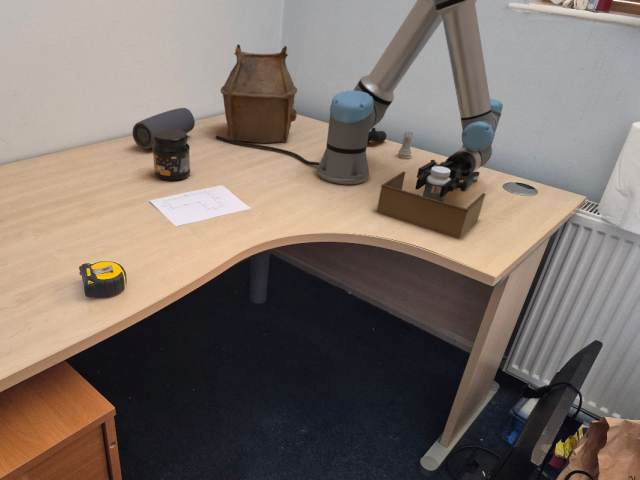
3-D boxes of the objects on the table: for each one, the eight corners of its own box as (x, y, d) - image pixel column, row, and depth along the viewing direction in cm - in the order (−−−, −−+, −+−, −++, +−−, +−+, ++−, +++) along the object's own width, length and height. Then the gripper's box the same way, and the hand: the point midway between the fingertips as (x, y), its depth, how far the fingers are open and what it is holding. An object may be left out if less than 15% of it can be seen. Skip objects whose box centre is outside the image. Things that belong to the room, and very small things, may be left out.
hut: (296, 146, 178) (304, 52, 161) (218, 143, 178) (217, 48, 161) (293, 127, 197) (300, 40, 180) (222, 124, 196) (222, 37, 180)
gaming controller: (339, 142, 192) (334, 134, 182) (342, 126, 191) (338, 118, 182) (384, 149, 187) (381, 141, 177) (388, 133, 186) (386, 125, 177)
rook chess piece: (396, 157, 172) (400, 133, 168) (398, 153, 176) (403, 130, 171) (409, 159, 171) (414, 135, 167) (411, 155, 174) (416, 132, 170)
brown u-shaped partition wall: (398, 196, 145) (403, 171, 141) (477, 220, 134) (485, 193, 130) (376, 211, 136) (381, 184, 132) (459, 238, 125) (467, 210, 121)
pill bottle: (443, 211, 133) (454, 174, 127) (421, 208, 134) (430, 172, 128) (441, 202, 137) (451, 166, 132) (419, 199, 138) (428, 164, 133)
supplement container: (147, 174, 152) (143, 133, 145) (174, 166, 158) (172, 126, 152) (169, 184, 146) (167, 142, 139) (198, 175, 152) (196, 135, 146)
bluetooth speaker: (175, 132, 186) (173, 103, 181) (196, 137, 182) (195, 108, 177) (132, 149, 170) (129, 118, 164) (154, 155, 166) (152, 123, 160)
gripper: (492, 186, 141) (462, 213, 126) (427, 168, 151) (392, 191, 135) (500, 159, 137) (471, 184, 122) (433, 143, 146) (397, 163, 131)
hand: (429, 188), depth 128 cm, fingers closed on pill bottle, 6 cm apart
